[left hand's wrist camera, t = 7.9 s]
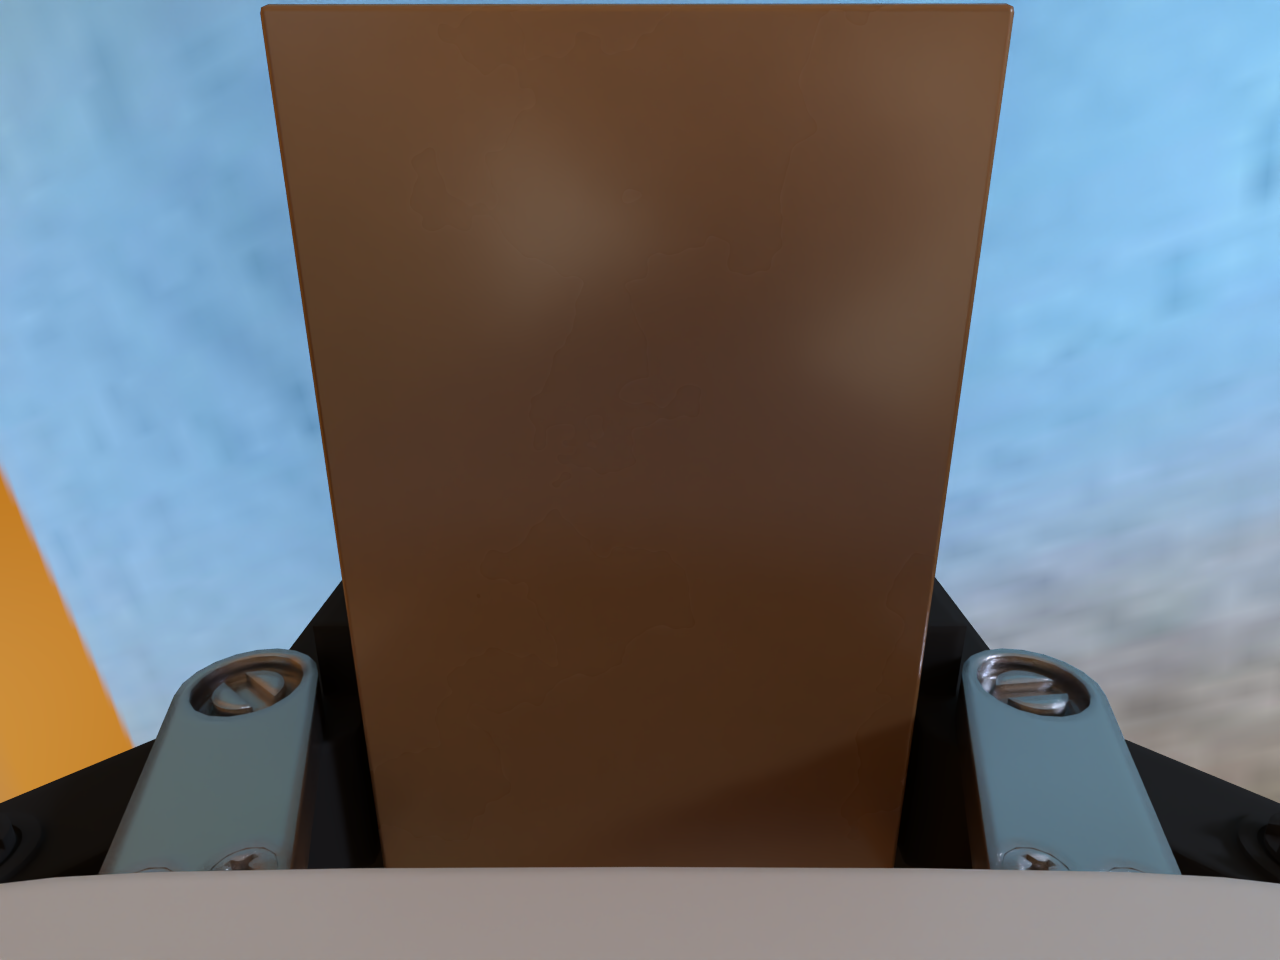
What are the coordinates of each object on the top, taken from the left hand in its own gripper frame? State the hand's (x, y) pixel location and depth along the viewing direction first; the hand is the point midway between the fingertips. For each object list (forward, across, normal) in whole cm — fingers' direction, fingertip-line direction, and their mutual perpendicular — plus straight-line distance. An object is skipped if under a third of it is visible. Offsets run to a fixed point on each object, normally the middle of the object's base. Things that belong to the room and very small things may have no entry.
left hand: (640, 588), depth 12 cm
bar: (+2, 0, -18) cm, 18 cm away
